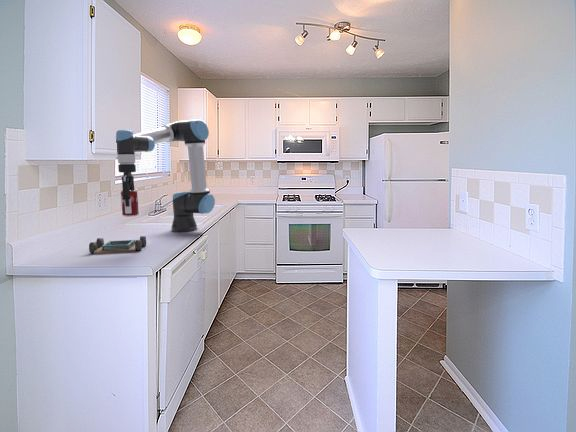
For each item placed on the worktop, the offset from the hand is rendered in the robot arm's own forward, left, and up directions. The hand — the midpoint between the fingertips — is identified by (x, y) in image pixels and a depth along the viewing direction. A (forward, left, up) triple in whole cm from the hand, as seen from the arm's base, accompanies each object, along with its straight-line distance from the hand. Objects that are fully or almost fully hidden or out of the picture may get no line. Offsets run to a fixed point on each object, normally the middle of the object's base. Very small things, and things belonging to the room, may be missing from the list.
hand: (130, 212), depth 187 cm
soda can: (0, 0, -2) cm, 2 cm away
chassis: (+1, -6, -17) cm, 19 cm away
